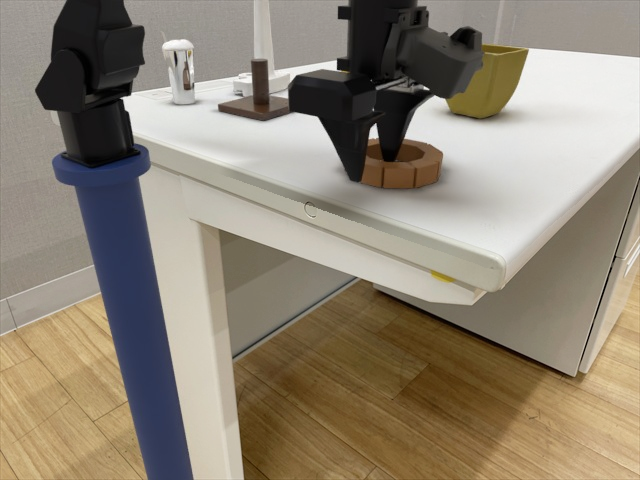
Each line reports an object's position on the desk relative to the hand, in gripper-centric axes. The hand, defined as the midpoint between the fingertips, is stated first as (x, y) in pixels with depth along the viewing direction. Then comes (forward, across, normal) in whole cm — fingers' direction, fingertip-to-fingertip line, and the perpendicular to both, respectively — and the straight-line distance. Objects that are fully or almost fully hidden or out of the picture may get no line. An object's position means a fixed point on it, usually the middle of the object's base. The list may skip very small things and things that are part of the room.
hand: (373, 171), depth 48 cm
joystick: (+1, +24, +38) cm, 45 cm away
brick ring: (+1, +4, 0) cm, 4 cm away
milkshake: (+1, +10, +41) cm, 42 cm away
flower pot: (+1, +31, +2) cm, 31 cm away
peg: (+1, +14, +28) cm, 32 cm away
